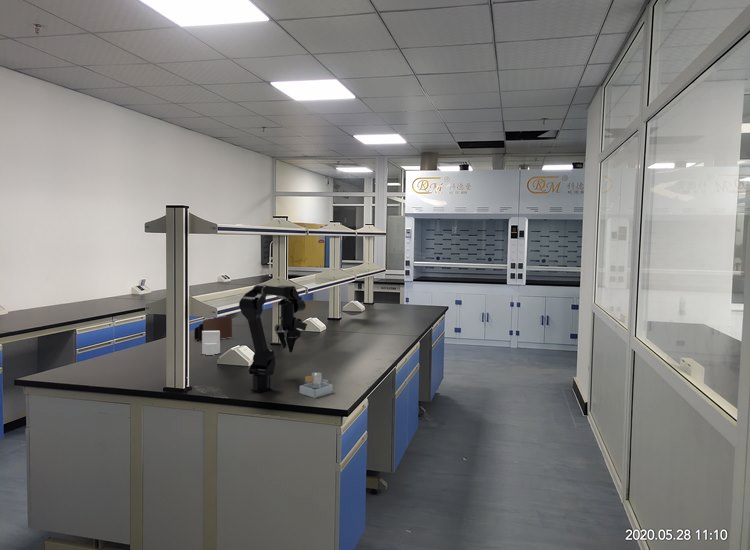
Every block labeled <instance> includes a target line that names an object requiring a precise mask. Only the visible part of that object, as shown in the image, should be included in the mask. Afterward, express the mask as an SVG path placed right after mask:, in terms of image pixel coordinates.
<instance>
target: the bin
mask: <svg viewBox="0 0 750 550" xmlns="http://www.w3.org/2000/svg"><path fill="white" fill-rule="evenodd" d="M298 388H299V390H298V393H299V394H301V395H303V396H307V397H310V398H314V399H316V398H319V397H320V398H321V397H323V396H325V395H330V394H334V384H331V383H328V384H327V383H324V382H321V388H320V389H316V390H314V389H311V388H312V383H308V384H305V383H304V384H302V385H299V387H298Z"/></svg>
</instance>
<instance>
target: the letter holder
mask: <svg viewBox="0 0 750 550" xmlns="http://www.w3.org/2000/svg"><path fill="white" fill-rule="evenodd" d="M213 318H214V319H211V318H207V319H204V320H203V321H202V323H200V324H199V325H198V326H196V327H195V328H194V333H193V334H194V336H193V337H194V338H193V339H194V340H199V341H202V331H220V339H221V338H227V337H232V338H233V318H232V317H231V316H218V318H216V317H213Z"/></svg>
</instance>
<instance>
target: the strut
mask: <svg viewBox="0 0 750 550" xmlns="http://www.w3.org/2000/svg"><path fill="white" fill-rule="evenodd" d="M321 377H322V372H316V371H315V372H311V375H306V376H305V380H304V382H305V381H312V388H311V389H314V390H316V389H320V388H321Z"/></svg>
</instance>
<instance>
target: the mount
mask: <svg viewBox="0 0 750 550" xmlns="http://www.w3.org/2000/svg"><path fill="white" fill-rule="evenodd" d="M321 382H324V383H327V384H329V380H328V379H324V378H323V376H321ZM308 383H312V381H305V380H304V385H305V384H308Z"/></svg>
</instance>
